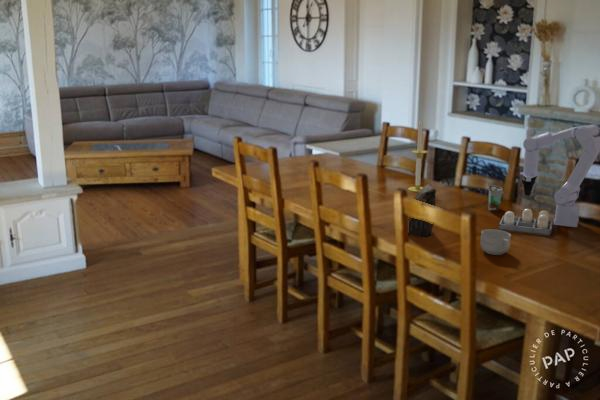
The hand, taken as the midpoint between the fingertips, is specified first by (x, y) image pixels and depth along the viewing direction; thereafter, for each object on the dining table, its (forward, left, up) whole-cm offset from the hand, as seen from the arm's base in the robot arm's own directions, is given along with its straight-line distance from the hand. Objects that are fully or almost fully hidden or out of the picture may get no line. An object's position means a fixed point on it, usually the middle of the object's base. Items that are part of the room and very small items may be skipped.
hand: (528, 193), depth 285 cm
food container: (+14, -4, -10) cm, 18 cm away
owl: (+39, +43, -10) cm, 59 cm away
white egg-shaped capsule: (+5, +24, -9) cm, 26 cm away
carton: (-1, +21, -10) cm, 23 cm away
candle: (+56, -25, -10) cm, 62 cm away
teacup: (+6, +57, -10) cm, 58 cm away
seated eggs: (-5, +21, -9) cm, 23 cm away
